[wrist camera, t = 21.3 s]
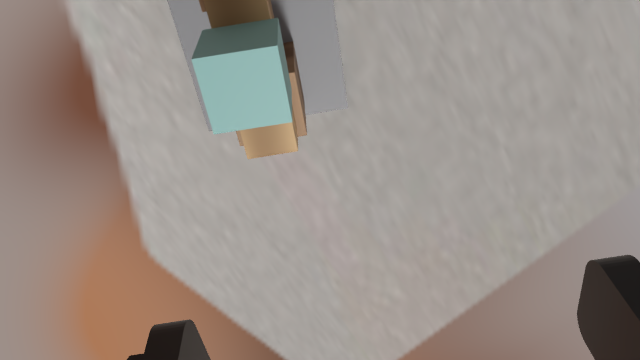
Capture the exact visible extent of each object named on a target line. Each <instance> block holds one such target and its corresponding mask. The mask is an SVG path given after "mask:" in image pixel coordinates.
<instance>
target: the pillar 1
mask: <svg viewBox="0 0 640 360" xmlns="http://www.w3.org/2000/svg"><path fill="white" fill-rule="evenodd" d="M199 3H200V6H201V10H202V12H207V11H206V8H205V4H204V0H199Z"/></svg>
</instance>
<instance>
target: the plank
mask: <svg viewBox="0 0 640 360" xmlns="http://www.w3.org/2000/svg"><path fill="white" fill-rule="evenodd" d="M204 4H205V8H206V11H207V15H208V18H209V22H210V25H211V28H218V27H224V26H230V25H236V24H242V23H249V22H255V21H261V20H267V19H273V18H274V15H273V10H272V5H271V0H204ZM292 121H293V122H291V123H284V124H278V125H271V126H265V127H258V128H252V129H245V130H240V133H241V137H242V140H243V144H244V147H245V151H246V155H247V158H248V159H252V158H258V157H264V156H270V155H276V154H283V153H289V152H295V151H298V138H297V126H296V121H295V117H294V112H293V107H292Z"/></svg>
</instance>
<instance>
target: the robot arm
mask: <svg viewBox="0 0 640 360" xmlns="http://www.w3.org/2000/svg"><path fill="white" fill-rule="evenodd" d="M577 318H578V324H579V328H580V332H581V334H582V337H583V339H584V341H585V343H586V345H587V347H588V348H589V350H590V352H591V354H592V355H593V357H594V359H595V360H640V262H639V261H638V260H637V259H636V258H635V257H633V256H631V255H624V256H617V257H610V258H604V259H598V260H591V261H589V262H588V263H587V265H586V269H585V274H584V279H583V284H582V289H581V294H580V299H579V304H578V310H577ZM127 360H210V357H209V355H208V353H207V351H206V349H205V346H204V344H203V342H202V339H201V337H200V335H199V333H198V330H197V328H196V326H195V324H194V322H193V321H192V320H183V321H177V322H170V323H163V324H158V325H154V326H153V327H152V328H151V330H150V333H149V337H148V341H147V344H146V348H145V352H144V354H138V355H131V356H129V358H128V359H127Z"/></svg>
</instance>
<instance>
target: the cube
mask: <svg viewBox="0 0 640 360" xmlns="http://www.w3.org/2000/svg"><path fill="white" fill-rule="evenodd" d="M191 60H192V63H193V67H194V70H195V73H196V77H197V80H198V83H199V87H200V90H201V93H202V97H203V100H204V103H205V107H206V110H207V113H208V117H209V120H210V123H211V127H212V130H213V133H214V134H219V133H226V132H232V131H239V130H245V129H252V128H258V127H265V126H271V125H278V124H284V123H291V122H293V121H292V88H291V83H290V77H289V72H288V67H287V62H286V56H285V51H284V46H283V40H282V35H281V30H280V25H279V19H278V18H273V19H267V20H261V21H255V22H249V23H242V24H236V25H230V26H224V27H218V28H211V29H205V30H202V32H201V35H200V38H199V40H198V43H197V45H196V48H195V51H194V53H193V56H192V59H191Z"/></svg>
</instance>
